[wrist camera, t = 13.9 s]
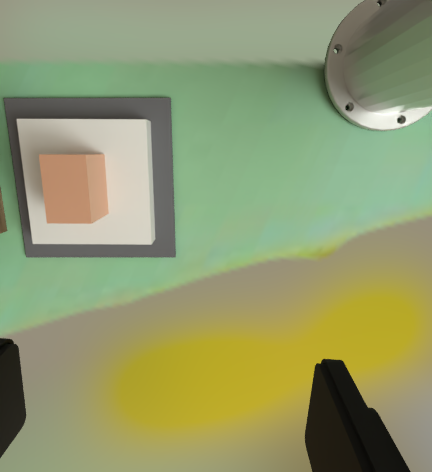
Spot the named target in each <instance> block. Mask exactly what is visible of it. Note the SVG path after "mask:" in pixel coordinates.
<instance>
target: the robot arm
mask: <svg viewBox="0 0 432 472" xmlns="http://www.w3.org/2000/svg"><path fill="white" fill-rule="evenodd" d="M377 3H379V4H380V7H379V6H378V4H377ZM334 49H336V50H337V54H335V53H334V51H333V50H334ZM324 74H325V83H326V88H327V91H328V94H329V97H330V99H331V101H332V103H333V104H334V106H335V108H336V109H337V110H338V111H339V113H340V114H341V115H342V116H343V117H344V118H346V119H347V120H348V121H349V122H351V123H352V124H354V125H356V126H358V127H361V128H364V129H368V130H372V131H388V130H396V129H400V128H404V127H406V126H408V125H411V124H413V123H415V122H417V121H418V120H420V119H421V118H423V117H424V116H426V115H427V114H428V113H429V112H430V111H431V110H432V0H365V1H363V2H361V3H360V4H358V6H356V7H355V8H354V9H353V10H352V11H351V12H350V13H349V14H348V15H347V16H346V17H345V18H344V19H343V20H342V22H341V23H340V24H339V26H338V28H337V29H336V31H335V33H334V34H333V36H332V39H331V41H330V43H329V46H328V50H327V54H326V58H325V69H324ZM346 105H347V106H348V107H349V109H348V110H346V109H345V106H346ZM397 119H399V122H397ZM25 419H26V409H25V400H24V392H23V383H22V375H21V366H20V357H19V349H18V346H17V345H16V344H14V342H13V341H12V340H11V339H3V338H0V458H1V456H2V455H3V454H4V452H5V451H6V449H7V448H8V446H9V445H10V444H11V442H12V441H13V440H14V438H15V437H16V435H17V434H18V432H19V431H20V430H21V428H22V427H23V425H24V422H25ZM305 443H306V448H307V452H308V456H309V460H310V464H311V468H312V472H410V470H409V468H408V466H407V465H406V463H405V461H404V459H403V457H402V456H401V454H400V452H399V450H398V448H397V447H396V445H395V443H394V441H393V440H392V438H391V436H390V434H389V432H388V431H387V429H386V427H385V425H384V424H383V422H382V420H381V418H380V416H379V415H378V413H377V412H376V410H375V409H373V408H368V407H367V405H366V404H365V402H364V400H363V398H362V396H361V394H360V392H359V390H358V389H357V387H356V385H355V383H354V381H353V379H352V377H351V375H350V373H349V372H348V370H347V368H346V366H345V364H344V362H343V361H342V360H331V359H323V360H322V362H321V364H318V363H317V364H316V366H315V371H314V378H313V384H312V391H311V397H310V405H309V411H308V417H307V424H306V431H305Z"/></svg>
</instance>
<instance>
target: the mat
mask: <svg viewBox="0 0 432 472" xmlns="http://www.w3.org/2000/svg"><path fill="white" fill-rule="evenodd" d="M4 103H5V111H6V118H7V125H8V132H9V139H10V146H11V153H12V160H13V167H14V174H15V181H16V188H17V195H18V202H19V209H20V216H21V223H22V230H23V237H24V244H25V251H26V257H176V251H175V219H174V187H173V155H172V123H171V98H4ZM17 119H146V120H149V121H151V142H152V168H153V193H154V218H155V240H154V242H153V243H152V245H136V244H33V242H32V234H31V227H30V219H29V211H28V204H27V196H26V188H25V181H24V173H23V165H22V158H21V150H20V142H19V135H18V127H17Z"/></svg>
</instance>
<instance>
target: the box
mask: <svg viewBox="0 0 432 472" xmlns="http://www.w3.org/2000/svg"><path fill="white" fill-rule="evenodd" d="M5 231H7V227H6V220H5V214H4V207H3V201H2V194H1V188H0V233H3V232H5Z"/></svg>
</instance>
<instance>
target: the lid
mask: <svg viewBox="0 0 432 472" xmlns="http://www.w3.org/2000/svg"><path fill="white" fill-rule="evenodd" d="M17 127H18V135H19V142H20V150H21V158H22V165H23V173H24V181H25V188H26V196H27V204H28V211H29V219H30V227H31V234H32V242H33V244H136V245H152V243H153V242H154V240H155V218H154V193H153V168H152V142H151V121H149V120H146V119H17Z"/></svg>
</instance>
